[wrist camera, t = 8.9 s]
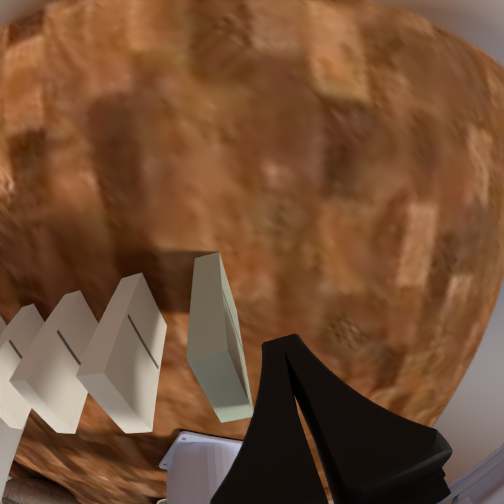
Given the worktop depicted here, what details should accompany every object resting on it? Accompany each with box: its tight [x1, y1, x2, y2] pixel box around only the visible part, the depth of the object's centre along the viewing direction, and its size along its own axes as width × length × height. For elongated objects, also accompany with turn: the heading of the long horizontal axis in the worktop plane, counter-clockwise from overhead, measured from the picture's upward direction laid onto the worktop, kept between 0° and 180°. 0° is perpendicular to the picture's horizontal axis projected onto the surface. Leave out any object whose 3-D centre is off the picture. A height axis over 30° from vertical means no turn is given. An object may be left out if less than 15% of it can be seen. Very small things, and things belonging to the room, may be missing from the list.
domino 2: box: [9, 290, 98, 434], centre depth 13 cm, size 1×4×8 cm, turn 14°
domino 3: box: [76, 273, 167, 433], centre depth 13 cm, size 1×4×8 cm, turn 14°
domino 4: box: [186, 252, 254, 423], centre depth 13 cm, size 1×4×8 cm, turn 12°
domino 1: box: [0, 304, 45, 429], centre depth 13 cm, size 1×4×8 cm, turn 13°
